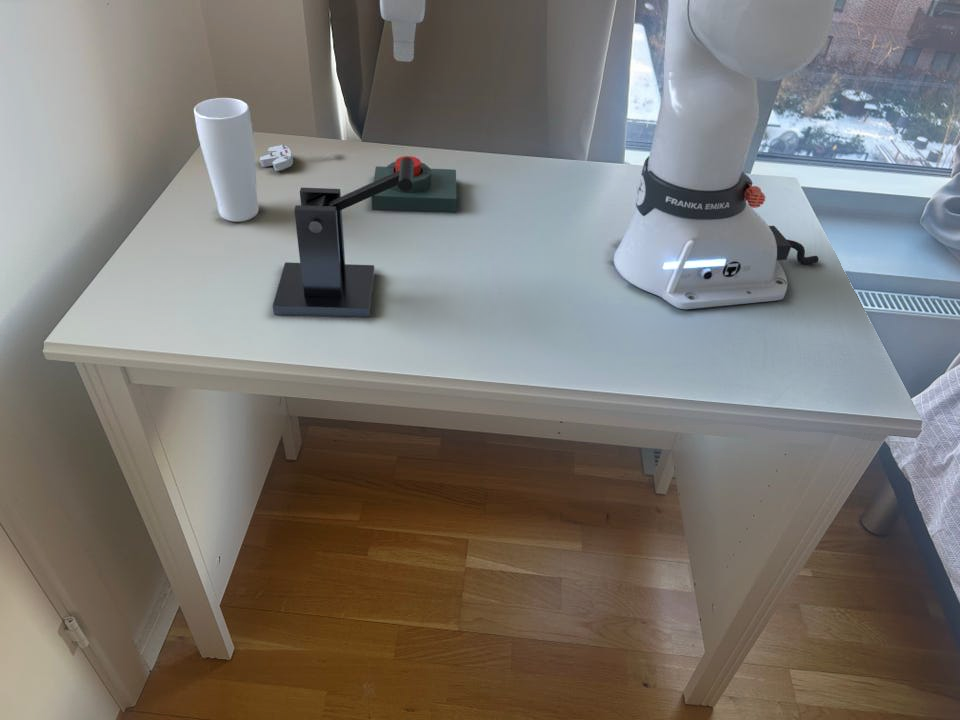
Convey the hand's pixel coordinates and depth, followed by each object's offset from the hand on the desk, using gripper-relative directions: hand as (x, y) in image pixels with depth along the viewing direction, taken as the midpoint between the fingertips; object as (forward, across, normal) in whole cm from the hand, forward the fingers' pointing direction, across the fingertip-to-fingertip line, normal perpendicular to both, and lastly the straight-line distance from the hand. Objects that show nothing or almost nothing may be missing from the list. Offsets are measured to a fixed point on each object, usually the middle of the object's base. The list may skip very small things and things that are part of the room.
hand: (405, 42), depth 71 cm
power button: (+26, +25, 0) cm, 36 cm away
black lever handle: (+18, 0, +4) cm, 18 cm away
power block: (+30, +25, -1) cm, 39 cm away
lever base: (+30, 0, +9) cm, 31 cm away
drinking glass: (+30, +18, +23) cm, 42 cm away
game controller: (+30, +34, +17) cm, 49 cm away
